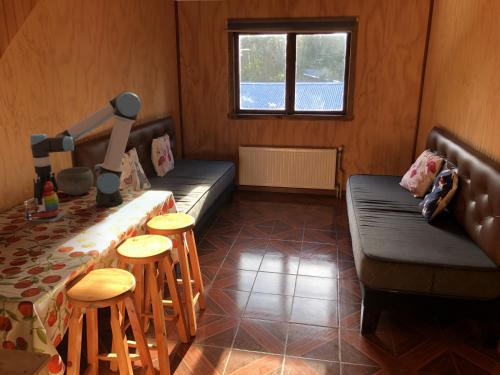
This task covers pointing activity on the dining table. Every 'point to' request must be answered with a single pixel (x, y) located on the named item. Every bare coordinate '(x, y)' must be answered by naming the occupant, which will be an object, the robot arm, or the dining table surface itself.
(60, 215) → the mat
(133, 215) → the dining table surface
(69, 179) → the bowl
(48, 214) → the stacking bear
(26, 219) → the miniature post railing
